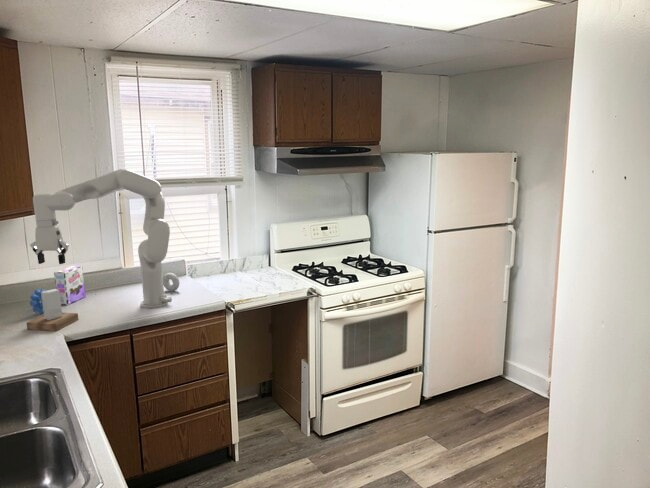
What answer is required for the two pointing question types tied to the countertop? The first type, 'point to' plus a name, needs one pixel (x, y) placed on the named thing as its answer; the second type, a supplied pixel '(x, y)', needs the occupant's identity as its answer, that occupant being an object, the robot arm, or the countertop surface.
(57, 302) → the skincare box
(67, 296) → the candy box
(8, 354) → the countertop surface
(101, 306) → the countertop surface
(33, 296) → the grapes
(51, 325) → the walnut board
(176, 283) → the donut
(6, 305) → the countertop surface
